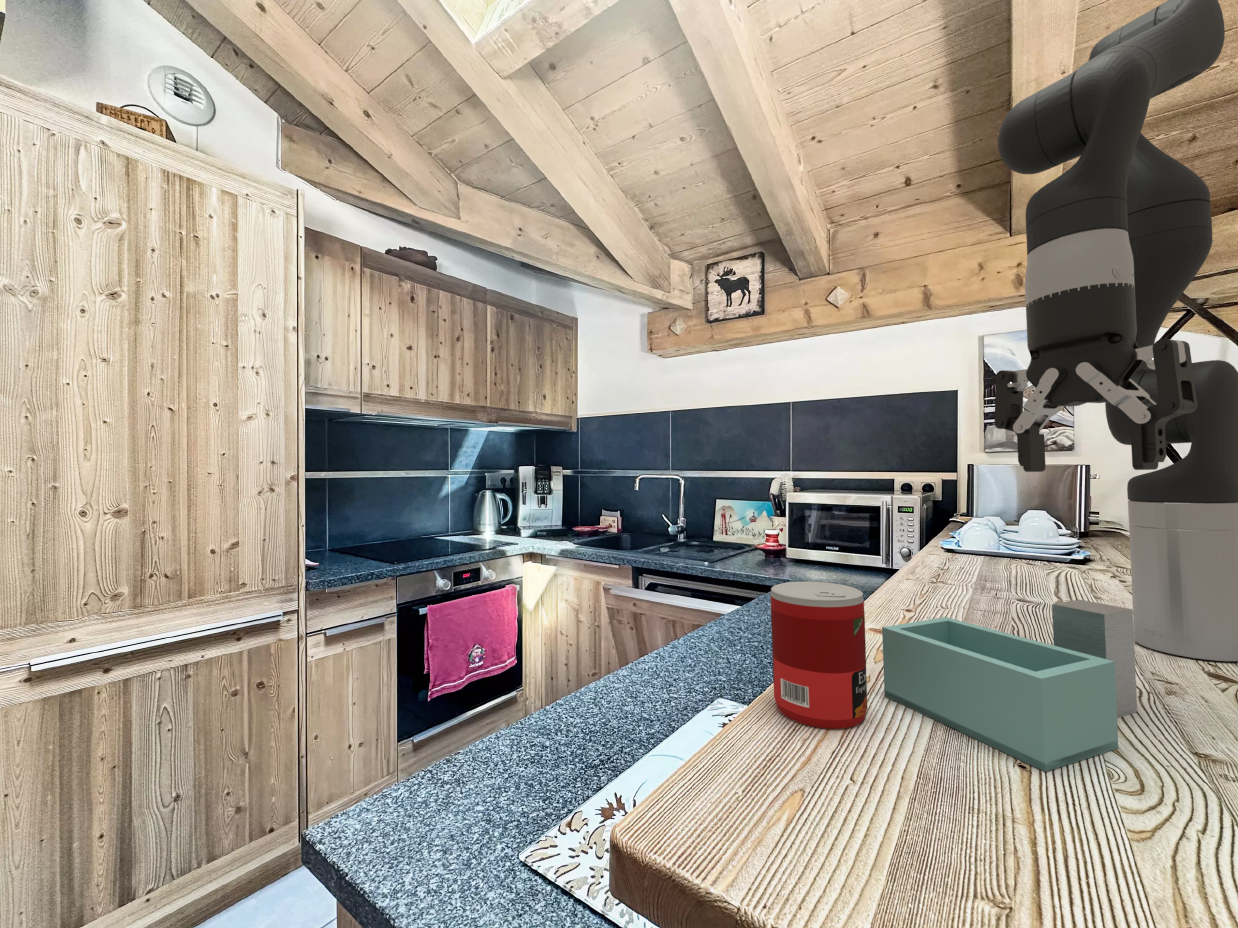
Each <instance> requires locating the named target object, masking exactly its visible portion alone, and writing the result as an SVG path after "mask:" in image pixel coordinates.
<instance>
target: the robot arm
mask: <svg viewBox="0 0 1238 928" xmlns="http://www.w3.org/2000/svg"><path fill="white" fill-rule="evenodd" d="M1225 32H1226V30H1225V18H1224V15H1223V11H1222V7H1221V5H1220V3H1219V0H1166V1H1165V2H1163V3H1161V4H1160V5H1158V6H1156V7H1154V8H1152V9H1150V10H1149V11H1147V12H1145V13H1144V14H1142V15H1140V16H1138V17H1137V18H1135V19H1133V20H1131V21H1130V22H1127V23H1126V24H1124V25H1122V26H1120V27H1119V28H1117V29H1116V30H1114V31H1112V32H1110V33H1109V34H1107V35H1106V36H1104V37H1103V38H1101V39H1100V40H1098V41H1097V42H1096V44H1094V46H1093V47H1092V49H1091V51H1090V53H1089V57H1088V61H1087V62H1085V63H1084V64H1082V65H1080V66H1079V67H1078V68H1077V69H1076V70H1075V71H1073V72H1071V73H1069V74H1068V75H1066V76H1064V77H1062V78H1061V79H1058V80H1056V81H1055V82H1053V83H1051V84H1050V85H1047V86H1045V87H1044V88H1042V89H1039V90H1038V91H1036V92H1035V93H1033V94H1031V95H1029V96H1027V97H1025V98H1023V99H1021V100H1020V101H1019V102H1017V103H1016V104H1015V105H1014V106H1013V107H1012V108H1011V109H1010V110H1009V112H1008V113H1007V114H1006V116H1005V118H1004V119H1003V122H1002V123H1001V126H1000V129H999V133H998V138H997V149H998V153H999V157H1000V158H1001V161H1002V162H1003V165H1005V166H1006V167H1007V168H1008V169H1010V170H1011V171H1013V172H1015V173H1018V174H1020V175H1035V174H1036V175H1037V174H1040V173H1043V172H1046V171H1047V170H1050V169H1053V168H1055V167H1057V166H1059V165H1062V164H1065V163H1067V162H1069V161H1071V160H1073V159H1076V158H1078V157H1079V158H1078V159H1077V161H1076V162H1075V163H1074V164H1073V165H1072V166H1070V168H1069V169H1067V170H1066V171H1065V172H1063V173H1062V174H1060V175H1059V176H1057V177H1055V178H1054V179H1053V180H1051V181H1050V182H1048V183H1047V184H1045V185H1044V186H1042V187H1041V188H1039V189H1038V190H1036V191H1035V192H1034V194H1032V195H1031V197H1030V198H1029V199H1028V202H1027V204H1026V206H1025V207H1026V208H1025V233H1026V237H1025V238H1026V255H1027V256H1026V267H1025V268H1026V269H1025V277H1024V291H1025V292H1024V293H1025V295H1024V301H1025V313H1026V314H1025V315H1026V316H1025V319H1026V339H1027V340H1026V341H1027V350H1028V352H1029V354H1030V362H1029V364H1028V367H1027V369H1019V370H1009V369H1008V370H999V371H997V372H996V374H995V383H994V384H995V386H994V426H995V428H996V429H998V430H1006V431H1010V432H1013V433H1014V434H1015V435H1016V440H1017V443H1016V445H1017V460H1018V461H1017V462H1018V464H1019V466H1020V467H1023V468H1022V470H1023V471H1024V472H1025V473H1036V472H1037V473H1038V472H1045V470H1046V466H1047V465H1046V448H1045V447H1046V445H1045V433H1040V432H1041V431H1042V430H1043V428H1044V427H1045V426H1046V424H1047V423H1048V422H1049V421H1050V420H1051V418H1052V417H1054V416H1055V415H1056V414H1058V413H1059V411H1060V410H1061V409H1062V407H1068V408H1070V407H1079V406H1081V405H1085V404H1087V403H1088V404H1089V403H1091V404H1103V403H1104V405H1105V417H1106V421H1107V426H1108V429H1109V431H1110V433H1111V435H1112V438H1114V440H1116V441H1117V442H1118V443H1120V444H1121V445H1125V446H1131V465H1132V469H1134V471H1135V470H1136V471H1150V470H1153V471H1150V472H1146V473H1142V474H1139V475H1136V476H1133V477H1131V478H1130V479H1129V480H1128V482H1127V487H1126V489H1127V490H1126V491H1127V510H1128V512H1127V513H1128V530H1129V531H1128V532H1129V533H1128V534H1129V550H1130V552H1129V554H1130V572H1131V573H1130V574H1131V576H1130V577H1131V592H1132V593H1131V596H1132V610H1133V631H1134V642H1135V643H1137V644H1139V645H1140V646H1144V647H1146V648H1148V649H1152V650H1155V651H1159V652H1162V653H1167V654H1170V655H1176V656H1181V657H1187V658H1193V659H1199V660H1207V661H1218V662H1238V370H1237V369H1236V368H1235V366H1234V365H1232V364H1231V363H1230V362H1229V361H1226V360H1220V359H1215V360H1213V359H1211V360H1203V361H1198V362H1197V361H1196V362H1192V355H1191V346H1190V344H1189V342H1188V341H1185V340H1177V339H1169V338H1161V339H1158V340H1157V341H1156V339H1157V336H1158V333H1159V332H1160V329H1161V327H1162V325H1163V322H1165V320H1166V317H1167V315H1168V314H1169V313H1170V312H1171V310H1172V309H1173V307H1174V306H1175V304H1176V303H1177V302H1178V300H1179V299H1180V297H1181V296H1182V295H1183V293H1184V292H1185V291H1186V289H1188V286H1190V285H1191V283H1192V281H1193V280H1194V278H1195V277H1196V275H1197V274H1198V272H1199V271H1200V270H1201V268H1202V266H1203V265H1204V263H1205V261H1206V260H1207V258H1208V256H1209V253H1210V251H1211V248H1212V245H1213V242H1214V241H1213V240H1214V239H1213V221H1212V206H1211V205H1212V203H1211V202H1212V201H1211V193H1210V189H1209V187H1208V185H1207V184H1206V182H1205V181H1204V180H1203V179H1202V178H1201V176H1200V175H1198V174H1197V173H1196V172H1194V171H1193V170H1191V168H1189V167H1187V166H1186V165H1185V164H1183V163H1181V162H1180V161H1178V160H1177V159H1175V158H1174V157H1172V156H1170V155H1169V154H1167V153H1166V152H1164V151H1163V150H1161V149H1160V148H1158V147H1157V146H1155V144H1153V142H1152V141H1150V140H1149V139H1148V138H1147V137H1145V135H1143V133H1142V130H1143V127H1144V124H1145V120H1146V117H1147V113H1148V109H1149V105H1150V100H1151V99H1153V98H1155V97H1158V96H1160V95H1162V94H1164V93H1166V92H1168V91H1170V90H1172V89H1175V88H1177V87H1180V86H1181V85H1183V84H1185V83H1187V82H1189V81H1191V80H1192V79H1194V78H1196V77H1197V76H1200V75H1201V74H1203V73H1204V72H1205V71H1207V70H1209V69H1210V68H1211V67H1212V66H1213V65H1214V64H1215V63H1216V61H1217V60H1218V59H1219V56H1220V55H1221V53H1222V50H1223V48H1224V43H1225V37H1226V36H1225V35H1226V33H1225ZM1028 383H1030V384H1031V385H1032V386H1033V387H1034V388H1035V389H1034V390H1033V392H1032V393H1031V394H1030V396H1029V397H1028V399H1027V400H1026V402H1025V403H1024V390H1026V389H1027V388H1028V387H1029V385H1028ZM1190 443H1191V445H1190V448H1189V451H1188V453H1187V454H1186V455H1185V456H1184V457H1182V459H1180V460H1178V461H1176V462H1175V463H1172V464H1170V465H1168V466H1166V467H1163V468H1160V469H1158V468H1159V463H1164V461H1165V460H1166V458H1167V445H1168V444H1169V445H1173V444H1174V445H1175V444H1190Z"/></svg>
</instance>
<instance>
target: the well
mask: <svg viewBox="0 0 1238 928" xmlns="http://www.w3.org/2000/svg"><path fill="white" fill-rule="evenodd" d="M881 628H882V629H881V632H882V635H881V637H882V659H883V660H882V661H883V686H884V687H883V689H884V690H883V691H884V697H886V698H888V699H890V700H892V701H894V702H897V703H898V704H901V705H903V706H905V707H906V708H909V709H911V710H913V711H915V712H917V713H919V714H922V715H924V716H926V717H928V718H930V719H932V720H934V721H937V722H939V723H941V724H943V725H945V726H947V727H950V728H951V729H953V730H956V731H957V732H960V733H962V734H964V735H967V736H968V737H970V738H972V739H974V740H976V741H979V742H981V743H983V744H985V745H987V746H989V747H991V748H994V749H995V750H998V751H1000V752H1002V753H1004V754H1006V755H1008V756H1010V757H1012V758H1015V759H1017V760H1019V761H1021V762H1023V763H1025V764H1028V765H1029V766H1032V767H1033V768H1036V769H1038V770H1040V771H1042V772H1044V773H1047V772H1050V771H1052V770H1056V769H1058V768H1062V767H1065V766H1068V765H1071V764H1074V763H1075V764H1076V763H1077V762H1080V761H1083V760H1086V759H1089V758H1092V757H1095V756H1099V755H1101V754H1105V753H1108V752H1111V751H1114V750H1116V749H1119V734H1118V732H1119V731H1118V730H1119V729H1118V727H1119V726H1118V718H1117V705H1116V683H1115V662H1114V661H1111V660H1107V659H1103V658H1099V657H1095V656H1092V655H1088V654H1084V653H1080V652H1077V651H1073V650H1069V649H1065V648H1061V647H1058V646H1054V644H1049V643H1045V642H1041V641H1038V640H1034V639H1031V638H1027V637H1022V636H1019V635H1015V634H1012V633H1008V632H1004V631H1001V630H997V629H992V628H989V627H984V626H981V625H977V624H974V623H970V622H966V621H964V620H958V619H955V618H950V617H947V616H944V617H943V616H942V617H938V618H932V619H930V618H929V619H925V620H920V621H913V622H906V623H899V624H893V625H888V626H883V627H881Z"/></svg>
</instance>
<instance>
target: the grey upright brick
mask: <svg viewBox="0 0 1238 928" xmlns="http://www.w3.org/2000/svg"><path fill="white" fill-rule="evenodd" d="M1051 607H1052V608H1051V609H1052V610H1051V611H1052V635H1053V637H1052V638H1053V645H1054V646H1058V647H1061V648H1065V649H1069V650H1073V651H1077V652H1080V653H1084V654H1088V655H1092V656H1095V657H1099V658H1103V659H1107V660H1111V661H1114V662H1115V683H1116V705H1117V719H1118V718H1119V719H1120V718H1123V717H1125V716H1129V715H1133V714H1135V713H1138V704H1137V703H1138V702H1137V701H1138V699H1137V697H1138V696H1137V679H1136V660H1135V659H1136V657H1135V655H1136V654H1135V640H1134V622H1133V608H1128V607H1124V606H1123V607H1122V606H1115V605H1111V604H1105V603H1102V602H1100V603H1099V602H1094V601H1089V600H1083V599H1075V600H1074V599H1073V600H1068V601H1062V602H1057V603H1052V604H1051Z"/></svg>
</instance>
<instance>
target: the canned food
mask: <svg viewBox="0 0 1238 928" xmlns="http://www.w3.org/2000/svg"><path fill="white" fill-rule="evenodd" d="M770 591H771V593H770V620H771V622H770V623H771V650H772V654H771V655H772V676H773V677H772V680H773V698H774V702H775V704H776V707H777V709H778V711H779V712H780V713H781V714H782V715H784V716H785V717H786V718H788V719H790V720H791V721H794V722H795V723H799V724H802V725H804V726H809V727H812V728H813V727H814V728H819V729H824V730H825V729H826V730H827V729H828V730H842V729H849V728H853V727H855V726H857V725H860V724H861V723H862V722H863V721H864V720H865V717H866V715H867V711H868V687H867V686H868V682H867V651H866V649H867V648H866V644H867V643H866V619H865V617H866V616H865V600H864V594H863V591H861V589H858V588H855V587H853V586H849V585H845V584H840V583H839V584H838V583H832V582H821V581H789V582H783V583H779V584H776V585H773V586H772V587H771V588H770Z"/></svg>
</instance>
